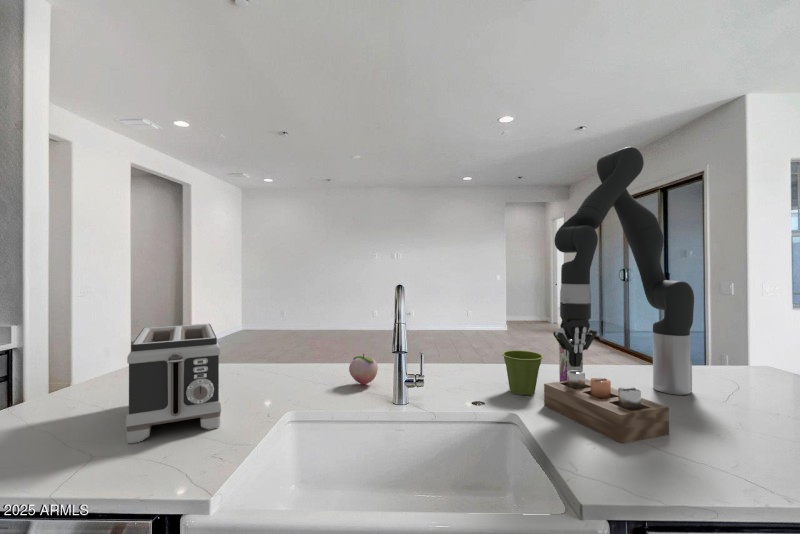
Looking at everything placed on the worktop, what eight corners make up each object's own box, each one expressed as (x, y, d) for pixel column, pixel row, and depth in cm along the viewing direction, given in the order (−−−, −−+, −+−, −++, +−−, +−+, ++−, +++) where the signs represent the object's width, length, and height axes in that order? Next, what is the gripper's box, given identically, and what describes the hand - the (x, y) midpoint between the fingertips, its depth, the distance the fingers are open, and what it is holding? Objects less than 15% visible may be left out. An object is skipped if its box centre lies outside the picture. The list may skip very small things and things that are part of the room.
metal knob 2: (628, 401, 91) (628, 384, 91) (645, 407, 87) (645, 390, 87) (613, 403, 90) (613, 386, 90) (630, 410, 85) (630, 392, 85)
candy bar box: (558, 381, 127) (558, 331, 127) (574, 382, 126) (574, 331, 126) (565, 392, 116) (565, 337, 116) (583, 393, 115) (583, 337, 115)
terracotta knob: (600, 391, 99) (600, 376, 99) (615, 396, 94) (614, 380, 94) (586, 393, 97) (586, 377, 97) (600, 398, 93) (600, 382, 93)
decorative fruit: (383, 383, 125) (383, 352, 125) (368, 390, 118) (368, 357, 118) (360, 379, 130) (360, 349, 130) (344, 385, 123) (344, 354, 123)
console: (585, 400, 109) (585, 378, 109) (669, 434, 87) (668, 407, 87) (544, 405, 105) (544, 383, 105) (621, 443, 82) (621, 415, 82)
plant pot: (499, 395, 113) (499, 356, 114) (504, 384, 124) (504, 349, 124) (542, 400, 109) (542, 360, 109) (544, 388, 120) (544, 352, 120)
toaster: (122, 454, 78) (122, 349, 78) (139, 403, 108) (139, 327, 108) (223, 435, 87) (223, 341, 87) (213, 393, 117) (213, 322, 117)
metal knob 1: (576, 382, 106) (576, 368, 106) (589, 387, 102) (589, 372, 102) (563, 384, 105) (563, 369, 105) (575, 389, 100) (575, 374, 100)
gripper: (584, 299, 109) (583, 361, 109) (545, 300, 105) (544, 364, 105) (606, 301, 102) (606, 367, 102) (565, 302, 98) (565, 371, 98)
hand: (575, 366), depth 103 cm, fingers closed
